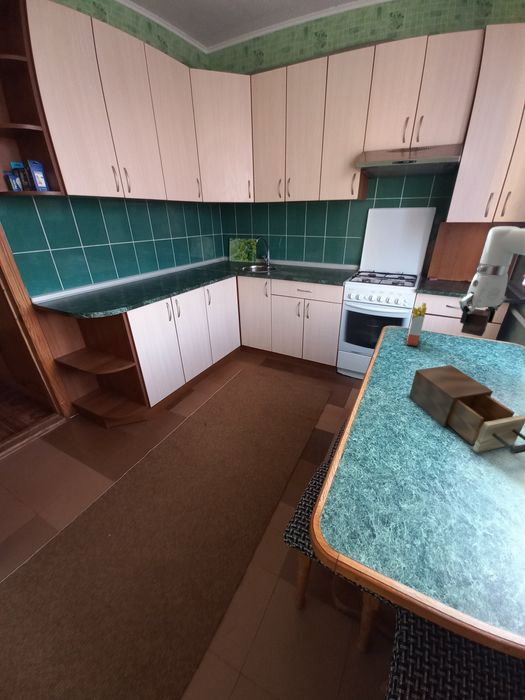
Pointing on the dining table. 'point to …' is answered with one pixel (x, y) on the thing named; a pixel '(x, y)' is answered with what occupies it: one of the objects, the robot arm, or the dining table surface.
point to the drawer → (486, 423)
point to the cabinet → (443, 390)
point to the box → (477, 323)
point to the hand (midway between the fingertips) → (475, 322)
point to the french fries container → (416, 325)
